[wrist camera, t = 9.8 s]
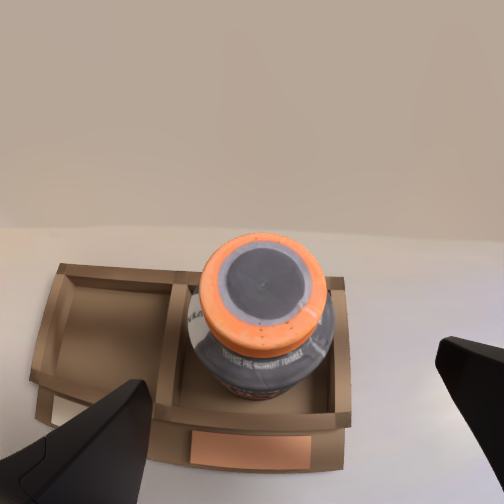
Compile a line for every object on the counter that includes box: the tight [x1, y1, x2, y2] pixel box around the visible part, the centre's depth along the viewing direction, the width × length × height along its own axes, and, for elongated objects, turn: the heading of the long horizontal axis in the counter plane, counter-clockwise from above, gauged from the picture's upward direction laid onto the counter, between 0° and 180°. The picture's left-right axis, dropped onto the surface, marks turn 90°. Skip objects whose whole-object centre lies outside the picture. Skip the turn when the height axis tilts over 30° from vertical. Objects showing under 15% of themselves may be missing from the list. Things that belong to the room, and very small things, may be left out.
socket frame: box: [29, 263, 351, 473], centre depth 17 cm, size 13×22×2 cm, turn 87°
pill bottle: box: [188, 233, 335, 401], centre depth 13 cm, size 6×6×11 cm
